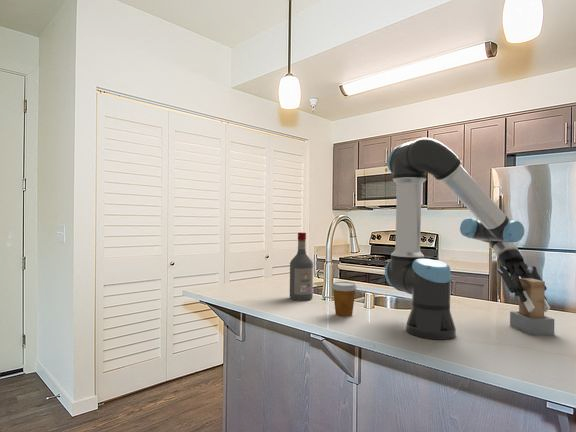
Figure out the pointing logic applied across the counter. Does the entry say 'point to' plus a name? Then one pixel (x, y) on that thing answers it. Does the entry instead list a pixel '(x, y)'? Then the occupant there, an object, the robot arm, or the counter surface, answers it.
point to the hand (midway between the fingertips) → (539, 309)
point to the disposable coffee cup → (344, 298)
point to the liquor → (301, 273)
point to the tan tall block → (533, 297)
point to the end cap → (532, 324)
